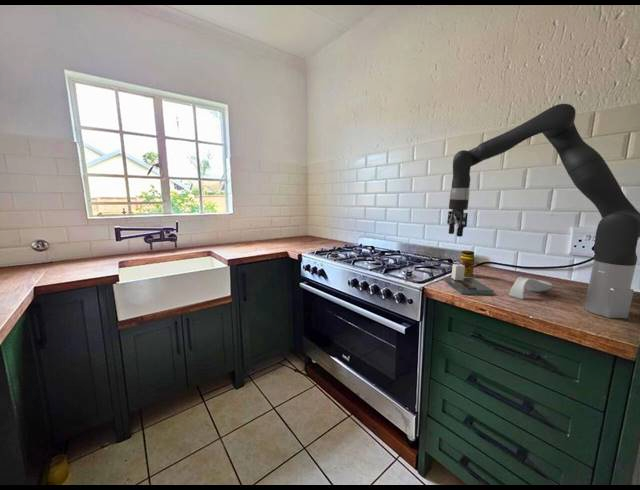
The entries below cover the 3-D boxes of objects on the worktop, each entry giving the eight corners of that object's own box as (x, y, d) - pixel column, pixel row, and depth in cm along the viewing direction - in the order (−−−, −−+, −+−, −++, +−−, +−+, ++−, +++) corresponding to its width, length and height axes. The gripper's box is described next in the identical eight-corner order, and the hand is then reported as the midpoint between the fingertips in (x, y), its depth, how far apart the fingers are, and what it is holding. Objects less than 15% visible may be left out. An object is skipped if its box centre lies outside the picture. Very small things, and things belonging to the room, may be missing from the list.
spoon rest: (521, 283, 121) (523, 268, 119) (555, 291, 111) (558, 274, 110) (499, 294, 107) (501, 276, 106) (535, 303, 97) (538, 284, 96)
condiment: (458, 276, 130) (461, 252, 127) (456, 272, 137) (458, 248, 135) (475, 278, 127) (478, 253, 125) (472, 273, 135) (475, 250, 133)
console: (492, 295, 105) (493, 288, 104) (461, 294, 105) (462, 287, 105) (471, 282, 121) (472, 276, 120) (444, 281, 121) (445, 275, 121)
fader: (463, 280, 116) (464, 266, 115) (454, 280, 116) (456, 265, 115) (459, 277, 119) (461, 264, 118) (451, 277, 119) (452, 263, 118)
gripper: (476, 199, 111) (471, 237, 114) (460, 198, 125) (456, 233, 128) (457, 198, 112) (453, 237, 115) (444, 198, 126) (440, 232, 129)
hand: (455, 235), depth 122 cm, fingers open, 8 cm apart
